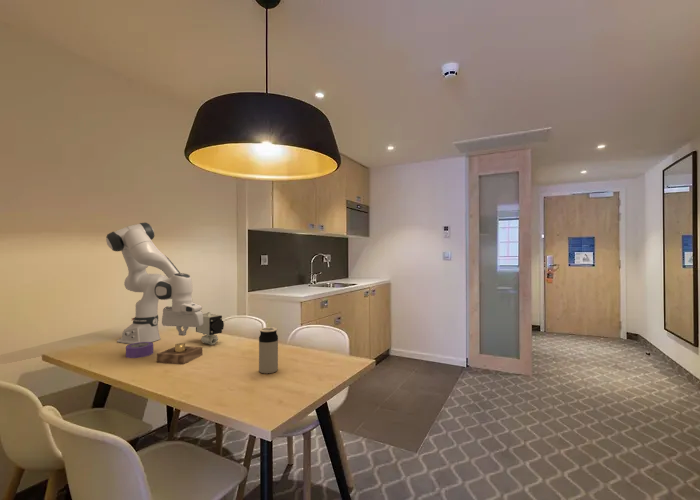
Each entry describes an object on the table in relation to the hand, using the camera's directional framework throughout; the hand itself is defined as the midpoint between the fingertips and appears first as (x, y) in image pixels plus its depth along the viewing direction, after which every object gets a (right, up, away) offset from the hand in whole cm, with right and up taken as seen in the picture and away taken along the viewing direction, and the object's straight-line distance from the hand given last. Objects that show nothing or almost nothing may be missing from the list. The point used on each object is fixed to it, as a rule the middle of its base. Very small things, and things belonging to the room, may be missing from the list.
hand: (182, 335), depth 164 cm
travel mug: (+46, -11, -18) cm, 51 cm away
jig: (-1, -11, -1) cm, 11 cm away
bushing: (-1, -11, -1) cm, 11 cm away
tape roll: (-25, -12, +6) cm, 28 cm away
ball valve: (+3, -12, +26) cm, 28 cm away
